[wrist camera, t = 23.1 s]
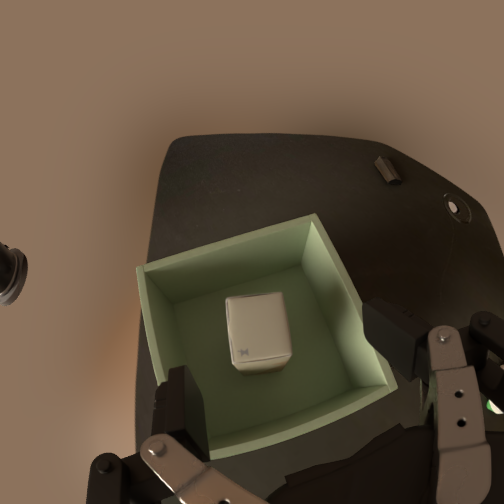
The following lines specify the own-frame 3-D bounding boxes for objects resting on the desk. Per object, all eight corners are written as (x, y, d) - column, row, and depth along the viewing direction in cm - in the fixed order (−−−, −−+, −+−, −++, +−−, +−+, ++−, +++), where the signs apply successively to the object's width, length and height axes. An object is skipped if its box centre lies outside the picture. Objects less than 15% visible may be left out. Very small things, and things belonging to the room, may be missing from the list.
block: (386, 187, 40) (389, 179, 38) (371, 162, 43) (374, 155, 41) (402, 186, 40) (406, 179, 38) (387, 162, 43) (390, 155, 41)
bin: (207, 443, 23) (183, 464, 15) (167, 302, 32) (135, 266, 23) (358, 391, 26) (398, 387, 17) (303, 260, 34) (315, 212, 25)
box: (282, 371, 27) (294, 360, 17) (242, 376, 27) (230, 368, 17) (275, 325, 29) (283, 289, 20) (236, 330, 29) (224, 296, 20)
